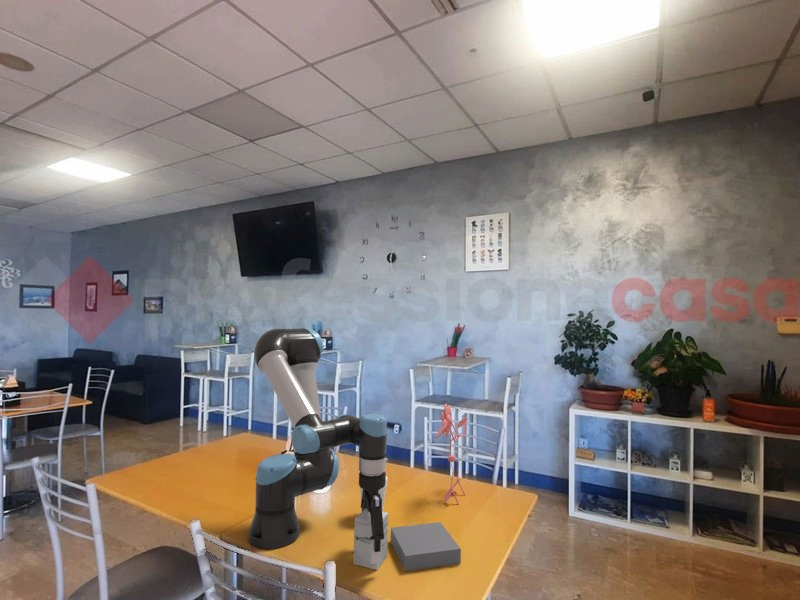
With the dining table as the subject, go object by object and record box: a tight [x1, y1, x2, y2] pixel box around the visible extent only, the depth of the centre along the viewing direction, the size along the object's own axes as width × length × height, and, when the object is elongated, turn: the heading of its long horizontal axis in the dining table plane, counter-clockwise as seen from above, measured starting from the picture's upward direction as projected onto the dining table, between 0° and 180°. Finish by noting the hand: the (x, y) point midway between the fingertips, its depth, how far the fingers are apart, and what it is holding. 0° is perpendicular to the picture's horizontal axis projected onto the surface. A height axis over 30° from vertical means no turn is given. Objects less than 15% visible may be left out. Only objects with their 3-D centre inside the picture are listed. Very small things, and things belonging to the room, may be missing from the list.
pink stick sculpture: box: [424, 403, 471, 506], centre depth 165 cm, size 15×26×35 cm, turn 157°
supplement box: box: [353, 508, 389, 571], centre depth 120 cm, size 7×7×13 cm
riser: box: [390, 521, 462, 572], centre depth 125 cm, size 16×16×4 cm
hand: (370, 549), depth 120 cm, fingers open, 13 cm apart
